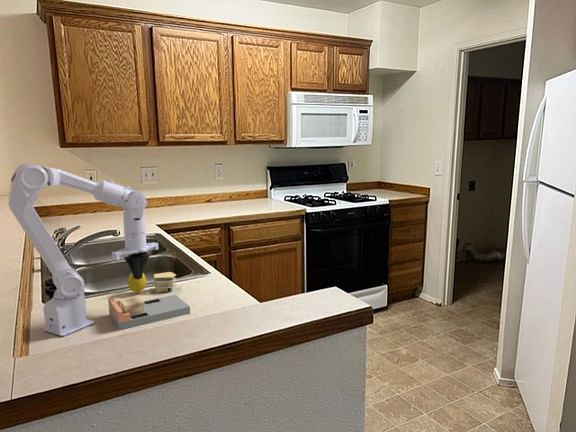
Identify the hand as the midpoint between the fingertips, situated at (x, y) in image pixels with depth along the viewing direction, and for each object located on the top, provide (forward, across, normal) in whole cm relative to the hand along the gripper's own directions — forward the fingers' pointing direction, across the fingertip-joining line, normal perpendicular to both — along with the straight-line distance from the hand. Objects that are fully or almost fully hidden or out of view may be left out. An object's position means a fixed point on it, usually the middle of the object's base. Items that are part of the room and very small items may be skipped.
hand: (137, 278), depth 122 cm
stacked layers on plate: (+10, +16, +7) cm, 20 cm away
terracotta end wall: (+8, -8, -1) cm, 11 cm away
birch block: (+8, -5, -3) cm, 10 cm away
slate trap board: (+10, -1, -4) cm, 11 cm away
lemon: (+10, +9, +12) cm, 18 cm away
